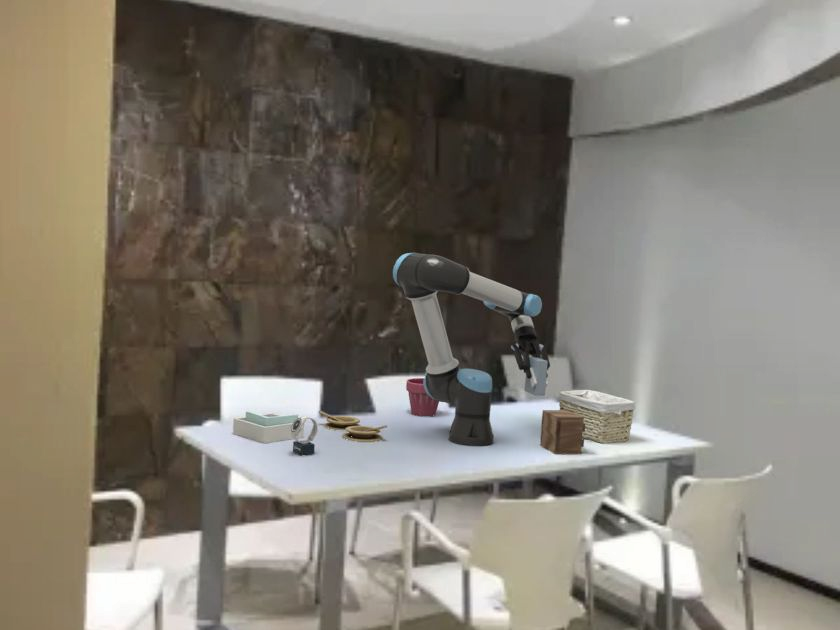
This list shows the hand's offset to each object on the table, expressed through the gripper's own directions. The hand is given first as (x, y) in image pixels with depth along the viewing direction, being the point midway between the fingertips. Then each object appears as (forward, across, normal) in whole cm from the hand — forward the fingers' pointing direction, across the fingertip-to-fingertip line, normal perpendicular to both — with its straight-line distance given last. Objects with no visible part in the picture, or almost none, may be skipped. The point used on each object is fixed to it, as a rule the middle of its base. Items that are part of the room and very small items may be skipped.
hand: (540, 385), depth 313 cm
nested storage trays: (+7, +90, -20) cm, 93 cm away
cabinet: (+23, -2, -4) cm, 23 cm away
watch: (+23, +83, -4) cm, 87 cm away
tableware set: (+4, +61, -24) cm, 66 cm away
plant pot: (-17, +26, -45) cm, 55 cm away
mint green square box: (+7, +89, -20) cm, 92 cm away
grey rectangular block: (0, 0, -5) cm, 5 cm away
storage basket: (+10, -25, -18) cm, 32 cm away
